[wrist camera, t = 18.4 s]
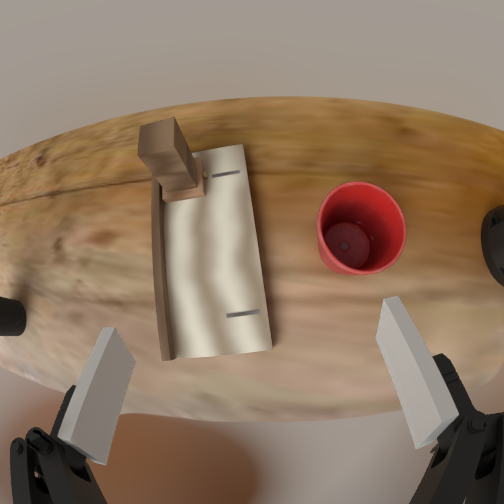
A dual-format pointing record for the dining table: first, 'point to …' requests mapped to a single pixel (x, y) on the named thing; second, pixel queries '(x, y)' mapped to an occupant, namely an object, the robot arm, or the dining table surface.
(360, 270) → the flower pot
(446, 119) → the dining table surface
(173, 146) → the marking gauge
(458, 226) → the dining table surface
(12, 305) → the travel mug
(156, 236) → the birch board
